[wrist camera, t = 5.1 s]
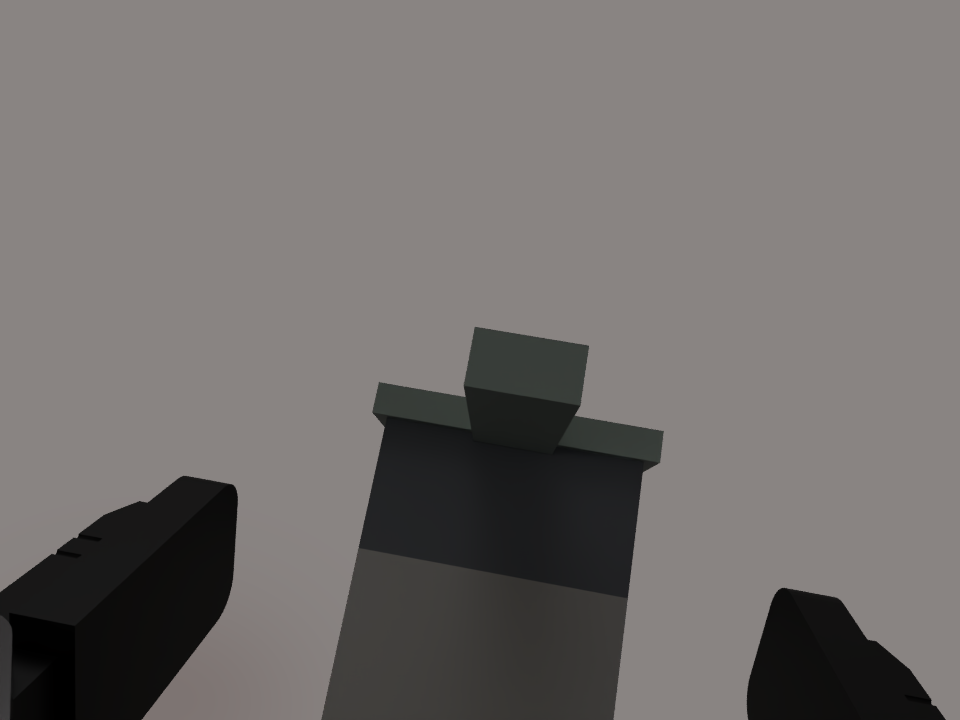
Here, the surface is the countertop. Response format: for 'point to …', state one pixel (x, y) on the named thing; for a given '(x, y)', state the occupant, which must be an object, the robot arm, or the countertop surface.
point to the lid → (522, 401)
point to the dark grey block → (486, 583)
